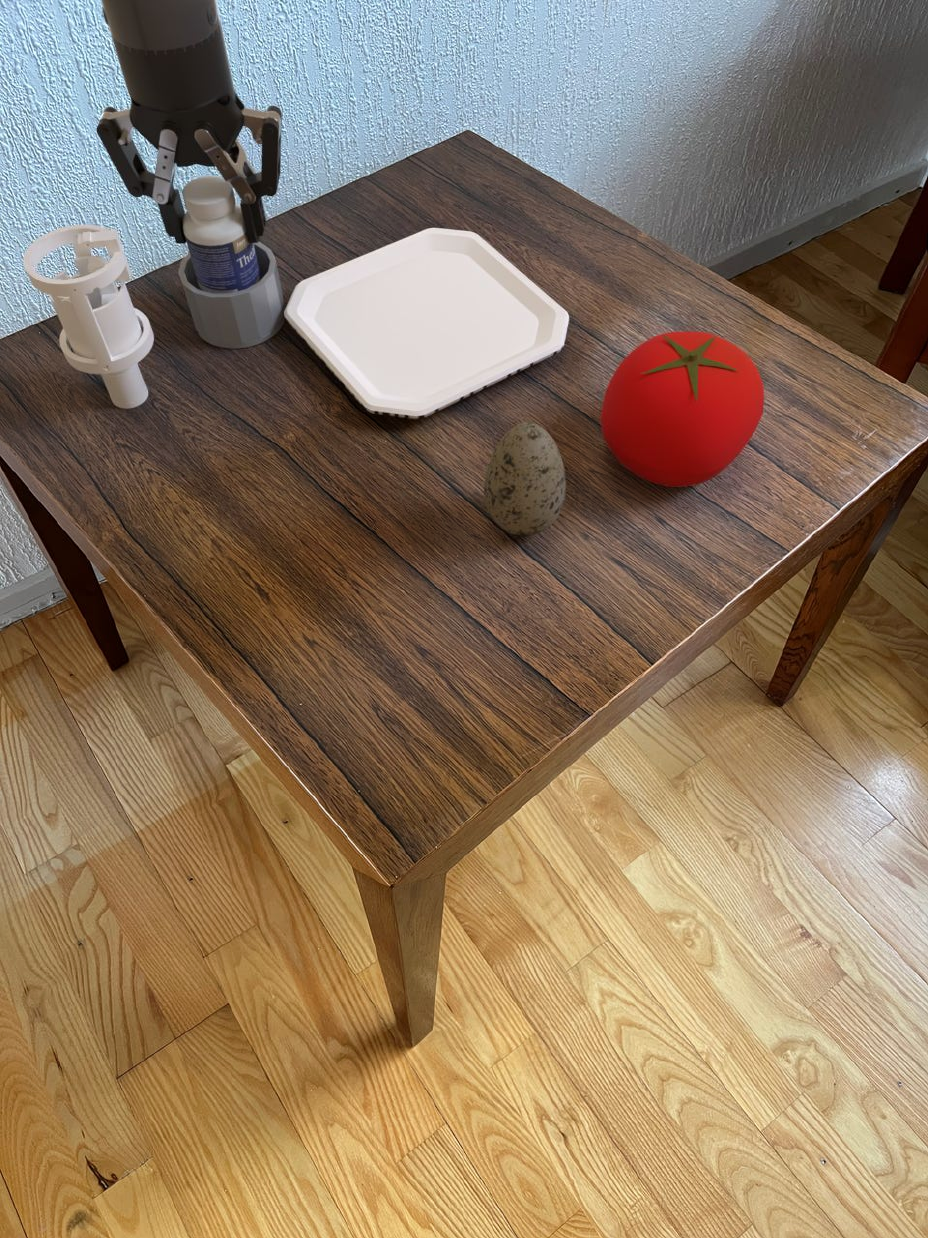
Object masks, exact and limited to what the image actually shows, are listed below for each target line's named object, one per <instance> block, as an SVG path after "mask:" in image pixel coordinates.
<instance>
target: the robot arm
mask: <svg viewBox="0 0 928 1238" xmlns="http://www.w3.org/2000/svg"><path fill="white" fill-rule="evenodd" d="M217 1H218V0H100V2H101V5H102V6H101V9H102V13H103V18H104V21H105V24H106V25H107V27H108V29H109V32H110V36H111V39H112V42H113V46H114V49H115V51H116V52H115V54H116V56H117V59H118V63H119V66H120V70H121V73H122V76H123V77H122V78H123V79H124V83H125V86H126V89H127V94H128V95H129V98H130V108H127V109H122V110H118V109H116V108H115V107H113V106H107V107H105V108H104V109H103V112H102V114H101V115H100V118H99V120H98V124H97V126H96V133H97V135H98V137H99V138H100V141H101V143H102V145H103V147H104V148H105V151H106V153H107V154H108V156H109V158H110V160H111V162H112V163H113V165H114V167H115V169H116V171H117V173H118V175H119V177H120V178H121V180H122V182H123V184H124V186H125V188H126V190H127V192H128V193H129V194H130V195H131V196H132V197H134V198H141V197H142V196H145V197H148V198H151V199H152V200H153V202H155V203H156V204H157V207H158V210H159V213H160V216H161V219H162V223H163V227H164V231H165V232H166V234H167V235H168V237H170V238H174V241H175V243H176V244H181V245H182V244H186V245H187V242H186V238H185V235H184V231H183V226H182V222H183V218H184V215H185V213H186V212H185V207H184V205H183V204H184V203H183V201H182V198H181V194H180V191H179V188H175V186H174V181H175V176H176V171H177V168H188V167H191V166H195V165H198V166H203V167H207V168H209V167H210V168H216V169H217V171H218V172H219V174H220V175H221V177H222V178H224V180H225V181H226V182H230V183H231V185H232V188H233V190H234V192H236V194H237V195H238V197H239V198H240V203H239V205H240V207H241V211H242V216H243V220H244V225H245V229H246V234H247V238H248V242H249V243H258V242H259V240H260V237H263V236H264V233H265V229H266V223H267V218H266V213H265V209H264V208H265V207H264V203H263V197H264V196H266V197H274V196H275V195H276V194H277V192H278V187H279V182H280V178H281V163H282V161H281V160H282V131H283V129H282V128H283V112H282V110H281V108H279V107H278V106H276V105H269V106H268V107H266V109H265V111H264V110H260V109H259V110H258V109H254V108H247V107H246V106H245V104H244V103H243V101H242V99H240V97H239V96H238V93H237V92H236V90H235V85H234V80H233V75H232V70H231V65H230V64H231V63H230V60H229V55H228V50H227V45H226V41H225V36H224V35H225V34H224V31H223V27H222V21H221V17H220V10H219V6H218V2H217ZM244 127H245V128H247V129H249V131H250V132H251V137H252V139H253V141H254V142H255V143H256V144H257V145H261V167H260V168H261V169H260V170H261V171H258V172H256V171H255V170H254V168H253V166H252V164H251V163H250V162H249V160H248V157H247V153H246V151H245V149H244V147H243V146H242V144H241V143H240V141H239V140H238V138H239V135H240V134H241V132H242V129H243V128H244ZM134 129H135V130H136V131H137V133H139V134H140V135H141V136H142V137H143V138H144V139H145V140H146V141H147V142H148V143H149V144H150V145H151V146H152V147H153V148H154V149H155V150H157V155H156V156H157V157H156V163H155V171H154V172H151V171H149V170H148V168H147V165H146V163H145V162H144V159H143V158H142V156H141V153H140V151H139V150H138V148H137V146H136V143H135V142H134V140H133V137H134V134H135V131H134Z"/></svg>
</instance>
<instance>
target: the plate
mask: <svg viewBox="0 0 928 1238" xmlns="http://www.w3.org/2000/svg"><path fill="white" fill-rule="evenodd" d="M569 315H570V314H569V313H568V311H567V310H566V309H564V308H563V307H562V306H561V305H560V304H559V303H558V302H556V301H555V300H554V299H553V298H552V297H550V295H548V294H547V293H546V292H545V291H544V290H543V289H541V287H539V286H538V285H537V284H535V282H533V281H532V280H531V279H530V278H529V277H527V275H525V274H524V273H523V272H521V270H520V269H518V268H517V267H516V266H515V265H514V264H513V263H511V262H510V261H509V260H508V259H507V258H506V257H505V256H503V255H502V254H501V253H500V252H499V251H498V250H496V249H495V248H494V247H493V246H492V245H490V243H489V242H487V241H486V240H485V239H484V238H483V237H482V236H480V235H479V234H478V233H476V232H473V231H470V230H460V229H451V228H440V227H430V228H426V229H423V230H421V231H418V232H416V233H414V234H411V235H409V236H406V237H404V238H402V239H399V240H397V241H394V242H392V243H389V244H386V245H385V246H382V247H380V248H378V249H375V250H372V251H371V252H368V253H366V254H363V255H361V256H358V257H355V258H353V259H351V260H349V261H346V262H344V263H341V264H339V265H337V266H334V267H332V268H330V269H327V270H325V271H322V272H319V273H317V274H314V275H312V276H310V277H308V278H305V279H303V280H301V281H300V282H299V283H297V284H296V285H295V287H294V289H293V291H292V293H291V295H290V298H289V300H288V302H287V304H286V306H285V311H284V316H285V321H286V322H287V323H288V324H289V325H290V327H291V328H292V329H293V330H294V331H295V332H296V333H297V334H298V335H299V337H300V338H301V339H302V340H303V341H304V343H305V344H306V345H307V346H308V347H309V348H310V349H311V350H312V351H313V352H314V354H315V355H316V356H317V357H318V358H319V359H320V361H321V362H323V364H324V365H325V366H326V367H327V369H329V370H330V371H331V373H332V374H333V375H334V376H335V377H336V378H337V379H338V381H339V382H340V383H341V384H342V385H343V386H344V387H345V389H347V391H348V392H349V393H350V394H351V395H352V397H354V398H355V400H356V401H357V402H358V403H359V404H360V405H361V406H362V408H363V409H364V410H365V411H366V412H369V413H370V414H373V415H381V416H389V417H397V418H404V419H412V420H419V419H420V420H421V419H425V418H428V417H429V416H431V415H432V416H433V415H434V414H436V413H438V412H440V411H442V410H444V409H446V408H448V407H450V406H452V405H454V404H456V403H458V402H460V401H462V400H465V399H467V398H468V397H471V396H472V395H475V394H477V393H479V392H481V391H483V390H485V389H487V388H489V387H491V386H493V385H495V384H497V383H499V382H501V381H503V380H505V379H507V378H510V377H511V376H513V375H516V374H518V373H520V372H522V371H524V370H526V369H528V368H530V367H532V366H534V365H537V364H538V363H540V362H543V361H545V360H546V359H549V358H551V357H552V356H555V355H556V354H559V353H560V352H561V351H562V350H563V349H564V347H565V343H566V338H567V334H568V328H569V323H570V316H569Z"/></svg>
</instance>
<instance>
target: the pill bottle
mask: <svg viewBox="0 0 928 1238" xmlns="http://www.w3.org/2000/svg"><path fill="white" fill-rule="evenodd" d="M181 191H182V192H181V195H182V199H183V204H184V209H185V210H186V212H185V215H184V218H183V222H182V226H183V231H184V235H185V238H186V246H187V249H188V253H190V256H191V260H192V263H193V267H194V270H195V274H196V277H197V281H198V285H199V288H200V290H202V291H206V292H209V293H233V292H237V291H241V290H244V289H247V288H249V287H251V286H252V285H254V284H256V283H258V282H260V280H261V277H260V272H259V267H258V262H257V257H256V253H255V248H254V243H249V242H248V238H247V234H246V229H245V225H244V220H243V216H242V211H241V207H240V203H237V202H236V197H235V191H234V188H233V186H232V185H231V183H230V182H226V181H225V180H224V178H223V177H222V176H217V175H205V176H198V177H196V178H194V179H191V180H190V181H189V182H187V183H186V184H185V185H184V186H183V188H182V190H181Z"/></svg>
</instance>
